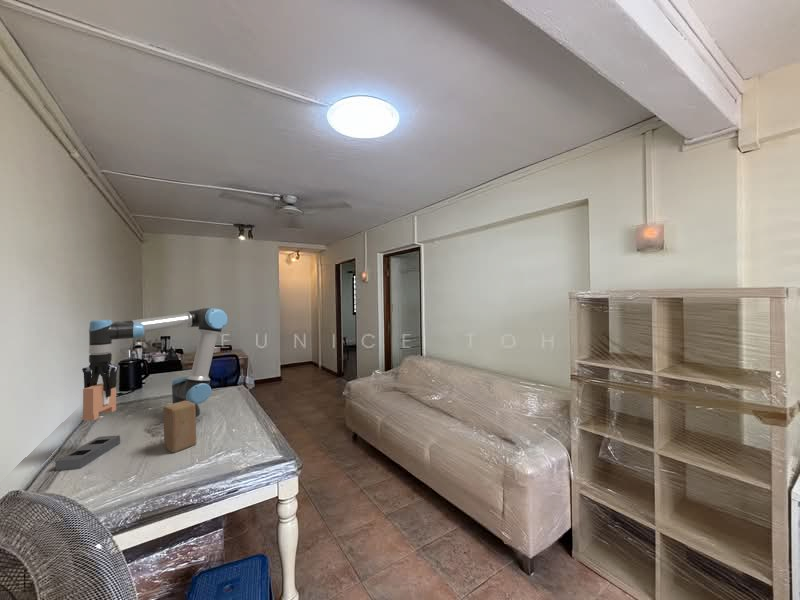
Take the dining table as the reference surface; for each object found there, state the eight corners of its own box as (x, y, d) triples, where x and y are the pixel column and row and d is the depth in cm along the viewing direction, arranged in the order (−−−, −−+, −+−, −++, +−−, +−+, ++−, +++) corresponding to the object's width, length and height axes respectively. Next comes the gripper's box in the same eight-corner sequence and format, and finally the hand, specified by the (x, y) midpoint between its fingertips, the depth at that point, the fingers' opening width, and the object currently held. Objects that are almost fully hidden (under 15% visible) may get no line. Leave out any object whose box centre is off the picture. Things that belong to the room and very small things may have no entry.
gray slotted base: (120, 443, 151) (119, 435, 151) (80, 468, 130) (80, 459, 130) (99, 444, 150) (98, 436, 150) (55, 470, 128) (55, 460, 128)
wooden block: (173, 453, 141) (172, 409, 140) (163, 448, 146) (162, 405, 146) (197, 444, 149) (196, 403, 149) (187, 439, 155) (186, 399, 154)
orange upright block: (116, 410, 151) (116, 381, 151) (93, 420, 138) (93, 388, 138) (106, 410, 150) (106, 381, 150) (82, 420, 137) (82, 388, 137)
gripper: (127, 351, 149) (126, 401, 149) (87, 352, 147) (86, 402, 147) (114, 354, 141) (114, 406, 141) (72, 355, 139) (71, 407, 139)
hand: (100, 404), depth 144 cm, fingers closed on orange upright block, 4 cm apart
